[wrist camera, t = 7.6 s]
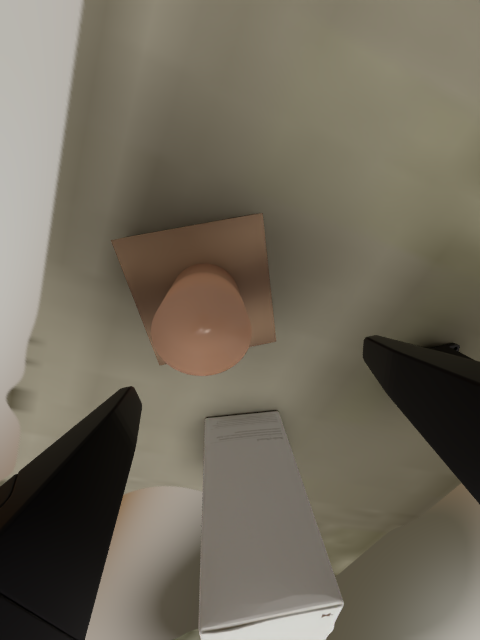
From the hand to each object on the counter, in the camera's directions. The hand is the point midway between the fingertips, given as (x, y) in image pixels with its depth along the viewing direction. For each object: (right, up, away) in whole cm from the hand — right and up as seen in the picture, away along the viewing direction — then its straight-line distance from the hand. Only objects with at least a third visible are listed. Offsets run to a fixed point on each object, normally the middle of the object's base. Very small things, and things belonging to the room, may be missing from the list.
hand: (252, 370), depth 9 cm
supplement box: (0, -13, +20) cm, 23 cm away
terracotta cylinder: (-3, +4, +8) cm, 9 cm away
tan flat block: (-3, +5, +11) cm, 12 cm away
